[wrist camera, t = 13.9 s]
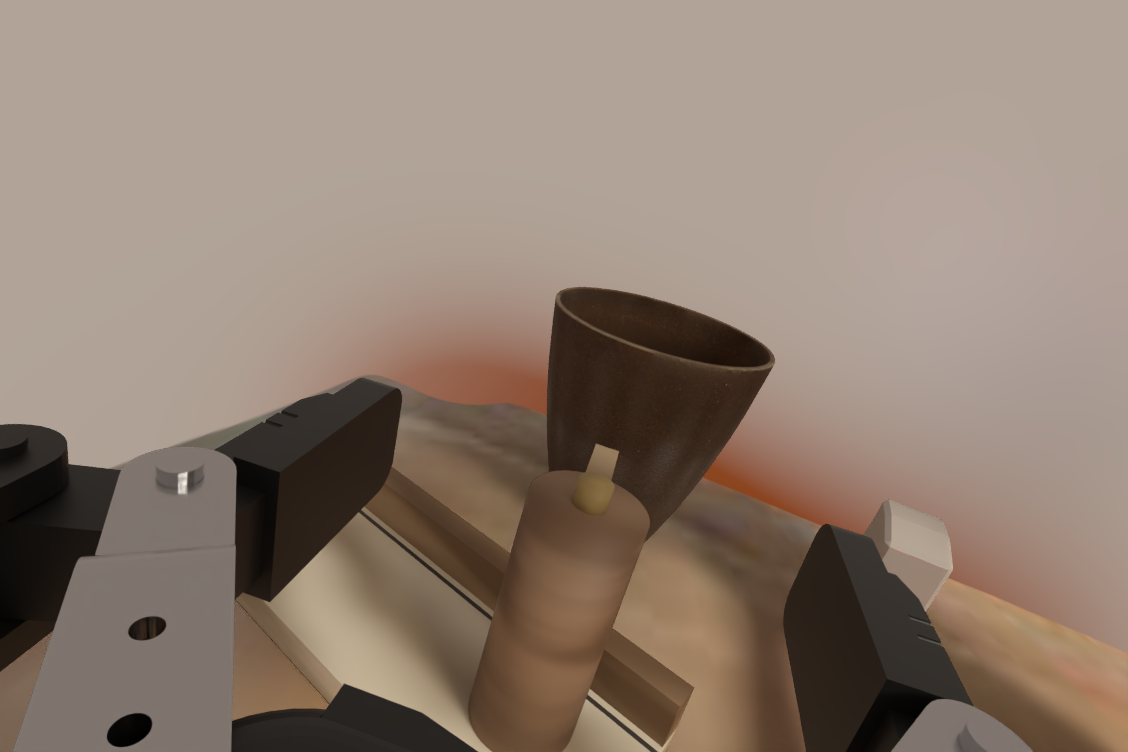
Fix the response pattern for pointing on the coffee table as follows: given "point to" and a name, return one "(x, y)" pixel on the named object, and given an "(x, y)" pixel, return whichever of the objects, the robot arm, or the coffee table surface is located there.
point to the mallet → (912, 548)
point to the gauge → (556, 607)
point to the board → (440, 625)
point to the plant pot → (646, 391)
